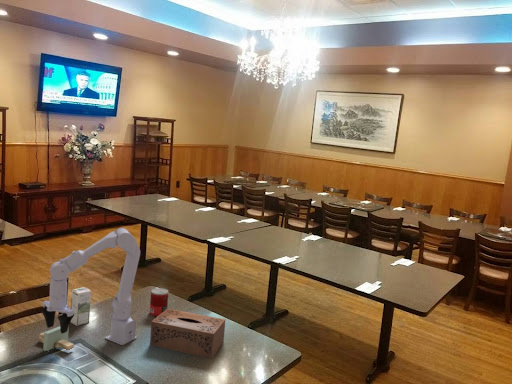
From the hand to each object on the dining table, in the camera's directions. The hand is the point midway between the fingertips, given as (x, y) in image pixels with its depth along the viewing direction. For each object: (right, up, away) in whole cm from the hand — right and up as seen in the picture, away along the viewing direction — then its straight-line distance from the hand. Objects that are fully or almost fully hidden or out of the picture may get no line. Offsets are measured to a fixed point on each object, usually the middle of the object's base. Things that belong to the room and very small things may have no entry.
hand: (57, 329), depth 157 cm
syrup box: (-1, -4, +22) cm, 23 cm away
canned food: (+29, -5, +38) cm, 48 cm away
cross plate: (-1, -7, +1) cm, 7 cm away
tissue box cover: (+47, -10, +12) cm, 49 cm away
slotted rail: (-1, -7, +1) cm, 7 cm away
